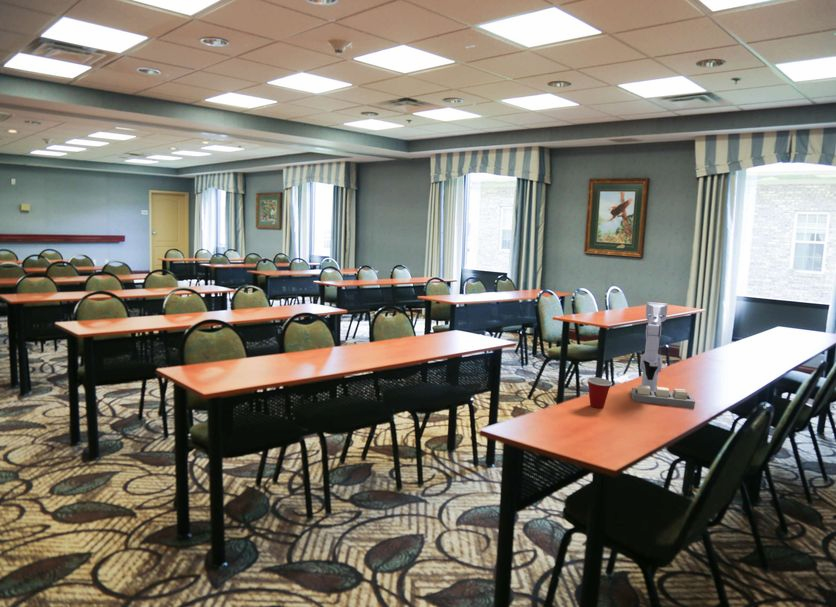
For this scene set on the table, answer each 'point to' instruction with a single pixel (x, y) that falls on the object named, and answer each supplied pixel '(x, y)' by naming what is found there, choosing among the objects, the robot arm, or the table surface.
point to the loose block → (680, 393)
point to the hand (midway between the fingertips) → (649, 377)
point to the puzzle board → (660, 397)
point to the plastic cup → (598, 391)
